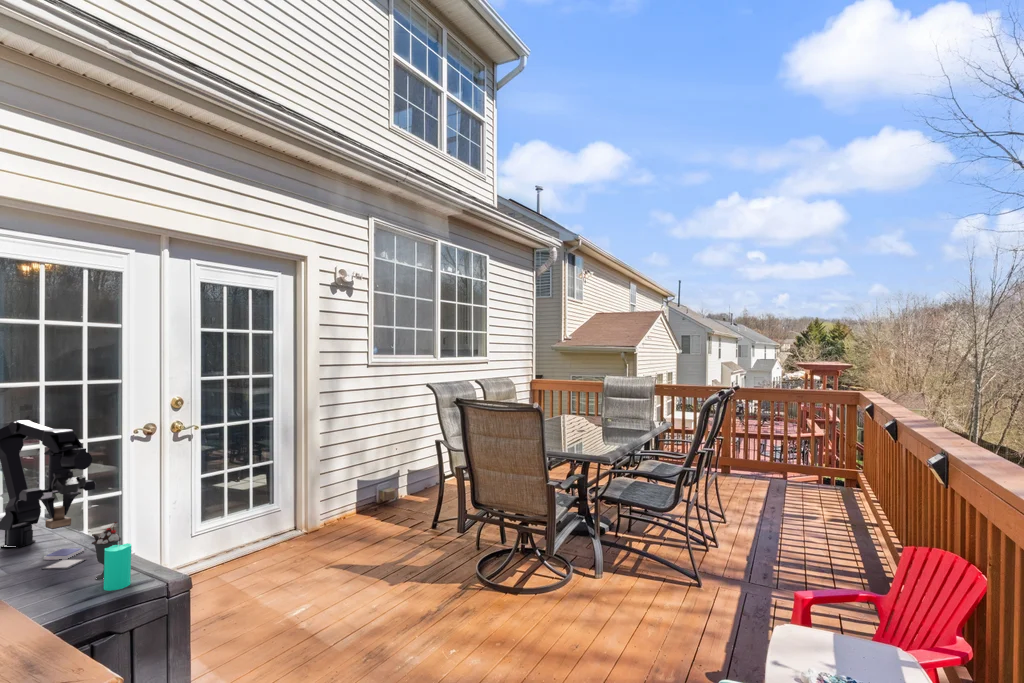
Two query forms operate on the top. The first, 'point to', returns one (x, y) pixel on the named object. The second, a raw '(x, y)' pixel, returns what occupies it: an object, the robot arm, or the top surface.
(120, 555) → the candle
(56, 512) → the stamp
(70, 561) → the marked card
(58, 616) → the top surface
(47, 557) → the ink pad
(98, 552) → the sundae
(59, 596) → the top surface
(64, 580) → the top surface
